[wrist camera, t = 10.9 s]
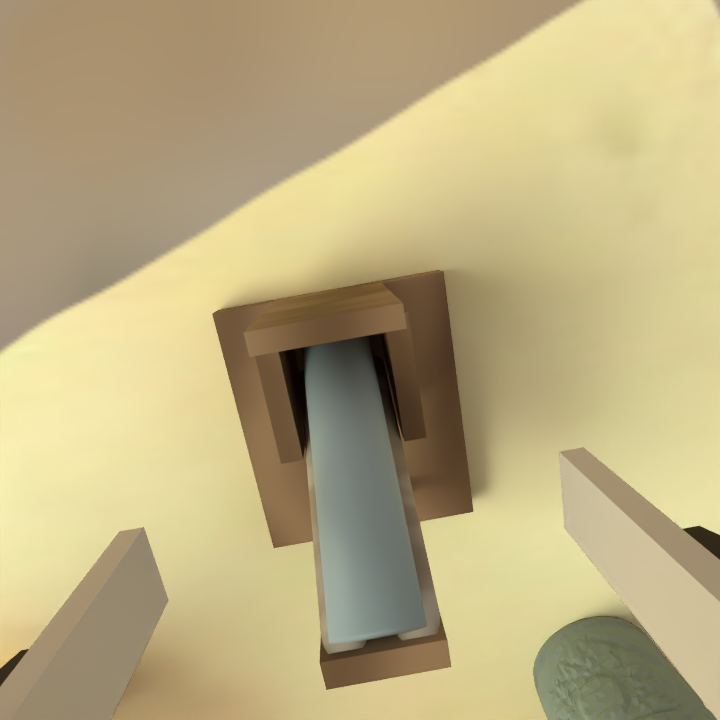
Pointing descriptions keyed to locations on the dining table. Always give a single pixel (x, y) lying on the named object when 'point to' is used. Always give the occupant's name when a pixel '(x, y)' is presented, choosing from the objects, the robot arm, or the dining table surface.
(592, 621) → the grey-green cup
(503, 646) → the dining table surface
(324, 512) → the peg
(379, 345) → the socket cradle
